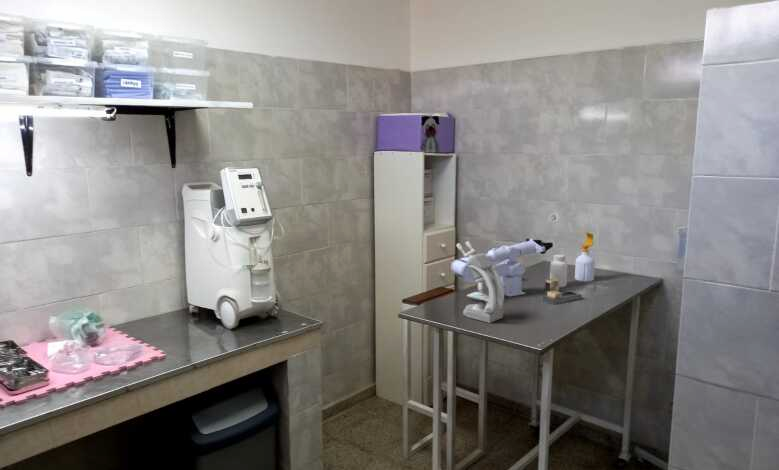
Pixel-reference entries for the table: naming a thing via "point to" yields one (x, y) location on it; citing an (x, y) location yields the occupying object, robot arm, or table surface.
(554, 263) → the pill bottle
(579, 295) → the grey rectangular tray
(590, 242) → the soap bottle
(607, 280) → the table surface
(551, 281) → the tan wooden block
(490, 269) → the microscope
